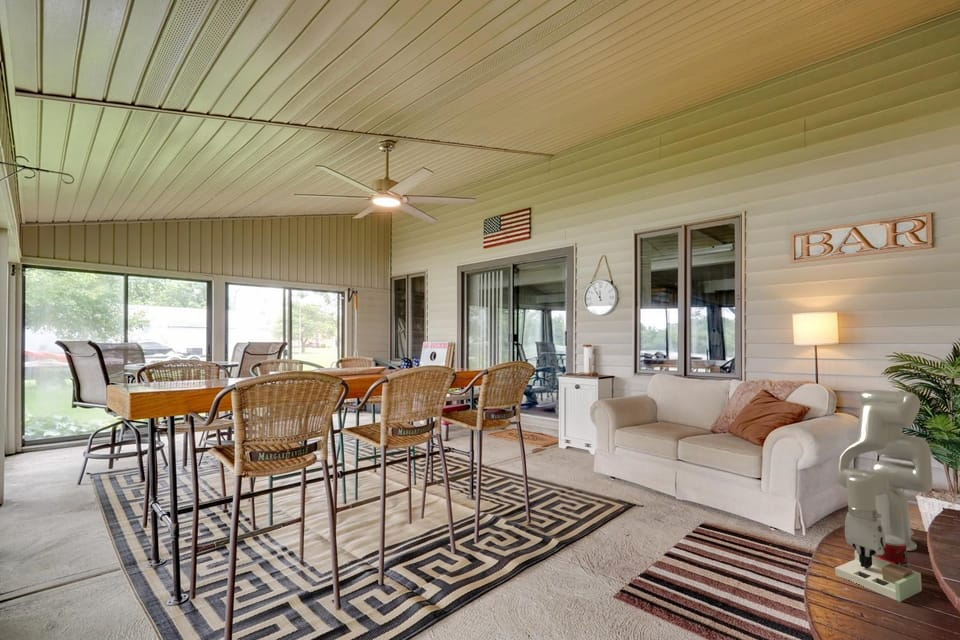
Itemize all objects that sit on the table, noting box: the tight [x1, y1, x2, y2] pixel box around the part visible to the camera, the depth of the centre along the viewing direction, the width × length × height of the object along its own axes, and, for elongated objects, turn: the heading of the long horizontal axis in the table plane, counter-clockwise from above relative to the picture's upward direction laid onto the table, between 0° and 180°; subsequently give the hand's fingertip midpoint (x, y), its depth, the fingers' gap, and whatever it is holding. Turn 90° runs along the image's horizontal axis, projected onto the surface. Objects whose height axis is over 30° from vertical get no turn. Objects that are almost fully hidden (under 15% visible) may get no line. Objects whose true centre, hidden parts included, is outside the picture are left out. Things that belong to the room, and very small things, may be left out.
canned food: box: [876, 534, 909, 569], centre depth 161 cm, size 8×8×11 cm
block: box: [882, 563, 912, 584], centre depth 149 cm, size 6×6×4 cm
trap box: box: [834, 550, 923, 603], centre depth 154 cm, size 13×18×6 cm
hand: (866, 566), depth 158 cm, fingers closed
